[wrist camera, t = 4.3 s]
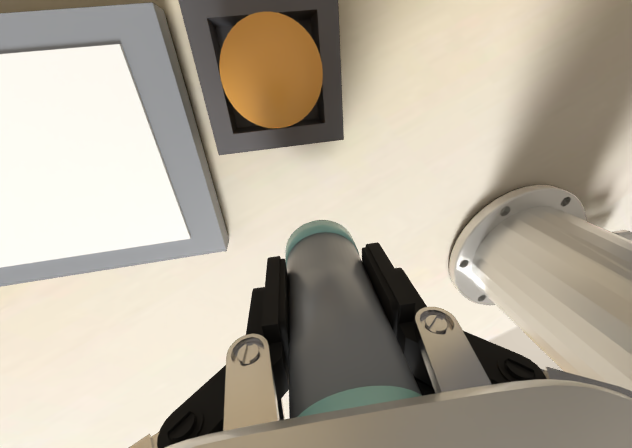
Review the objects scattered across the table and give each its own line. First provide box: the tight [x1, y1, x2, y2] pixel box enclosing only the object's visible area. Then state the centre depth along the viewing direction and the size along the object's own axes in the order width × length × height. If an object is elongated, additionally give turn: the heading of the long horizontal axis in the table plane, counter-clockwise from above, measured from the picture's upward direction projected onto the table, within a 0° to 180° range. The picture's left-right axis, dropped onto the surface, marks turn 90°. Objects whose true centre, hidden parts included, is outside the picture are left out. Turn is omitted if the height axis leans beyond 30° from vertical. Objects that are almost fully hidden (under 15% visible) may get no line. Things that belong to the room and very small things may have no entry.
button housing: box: [179, 0, 344, 155], centre depth 15 cm, size 7×7×3 cm
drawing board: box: [0, 3, 229, 286], centre depth 16 cm, size 20×14×2 cm
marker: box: [286, 220, 422, 418], centre depth 10 cm, size 4×4×11 cm
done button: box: [219, 12, 323, 128], centre depth 13 cm, size 4×4×2 cm
